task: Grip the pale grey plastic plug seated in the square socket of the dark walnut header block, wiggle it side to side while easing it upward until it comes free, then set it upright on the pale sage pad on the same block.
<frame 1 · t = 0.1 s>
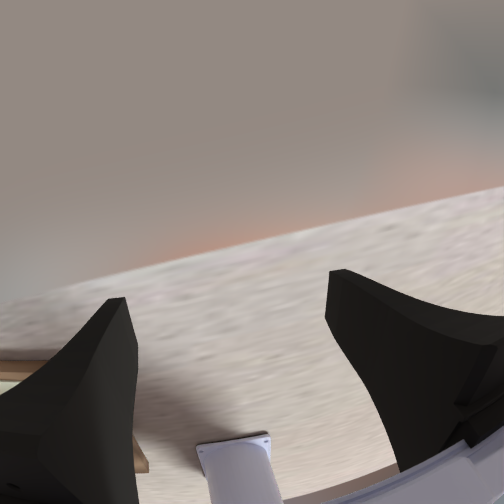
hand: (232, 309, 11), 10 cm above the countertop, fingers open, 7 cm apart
header block: (54, 421, 25), on the countertop
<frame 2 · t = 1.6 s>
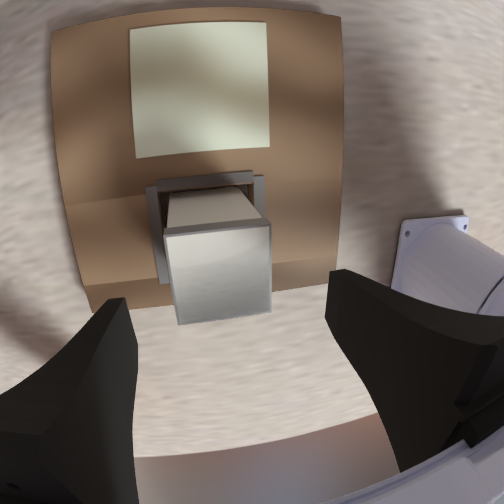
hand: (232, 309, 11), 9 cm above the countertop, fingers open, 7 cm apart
plug: (206, 222, 19), resting in header block
header block: (201, 156, 18), on the countertop
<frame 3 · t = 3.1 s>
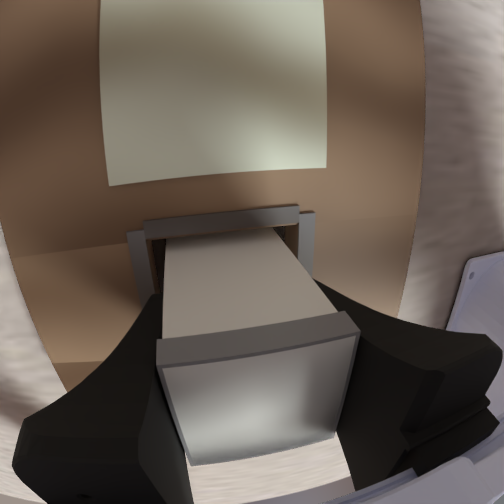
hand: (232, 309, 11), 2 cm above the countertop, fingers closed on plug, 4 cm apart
plug: (222, 276, 13), resting in header block, touching gripper
header block: (215, 178, 12), on the countertop
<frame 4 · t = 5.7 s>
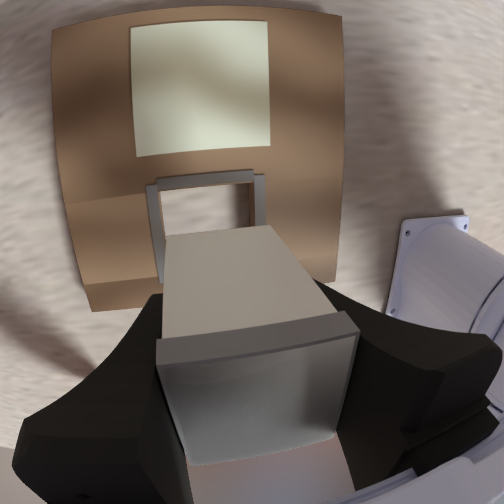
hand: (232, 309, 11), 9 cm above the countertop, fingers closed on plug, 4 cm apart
plug: (222, 276, 13), point 7 cm above the countertop, touching gripper
header block: (202, 155, 18), on the countertop
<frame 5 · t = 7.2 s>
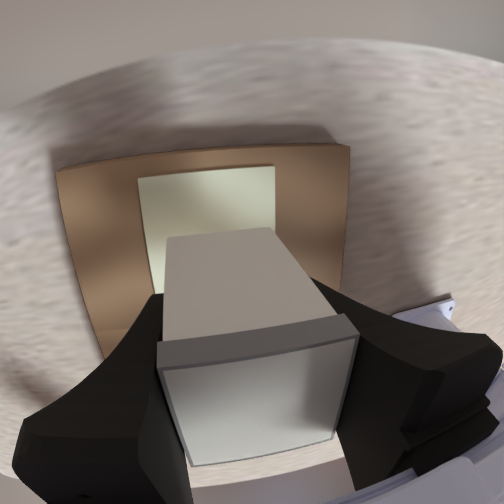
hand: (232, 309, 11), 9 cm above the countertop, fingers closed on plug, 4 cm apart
plug: (222, 277, 13), point 6 cm above the countertop, touching gripper
header block: (213, 285, 20), on the countertop
when the fingers open (5 cm above the countertop, at t = 8.6 s): plug stays where it is, resting on header block.
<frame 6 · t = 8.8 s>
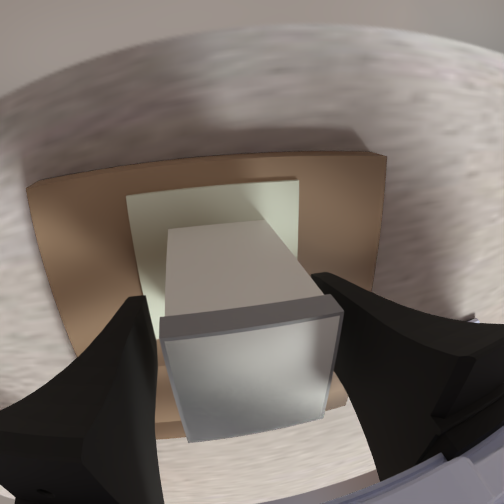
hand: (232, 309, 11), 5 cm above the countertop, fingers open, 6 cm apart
plug: (220, 268, 14), point 2 cm above the countertop, touching header block
header block: (221, 319, 17), on the countertop
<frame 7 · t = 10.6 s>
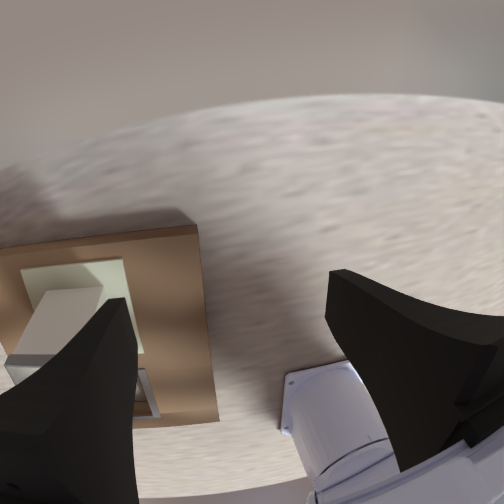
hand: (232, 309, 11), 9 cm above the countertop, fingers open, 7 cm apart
plug: (82, 315, 18), point 2 cm above the countertop, touching header block
header block: (101, 346, 21), on the countertop
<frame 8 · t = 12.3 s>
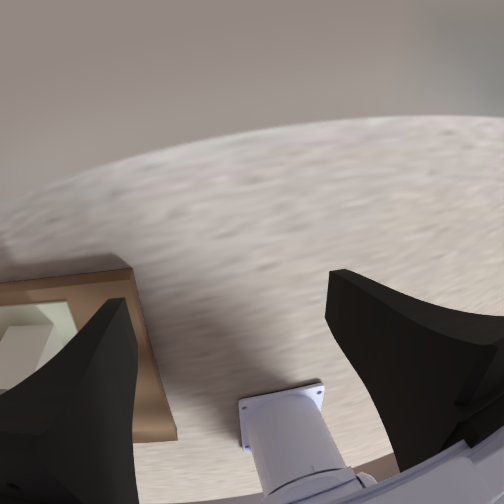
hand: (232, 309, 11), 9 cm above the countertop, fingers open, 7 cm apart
plug: (40, 348, 18), point 2 cm above the countertop, touching header block
header block: (64, 371, 22), on the countertop
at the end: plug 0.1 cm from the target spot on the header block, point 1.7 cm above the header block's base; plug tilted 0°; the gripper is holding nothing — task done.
